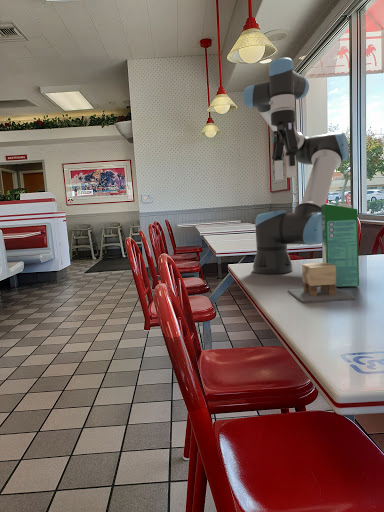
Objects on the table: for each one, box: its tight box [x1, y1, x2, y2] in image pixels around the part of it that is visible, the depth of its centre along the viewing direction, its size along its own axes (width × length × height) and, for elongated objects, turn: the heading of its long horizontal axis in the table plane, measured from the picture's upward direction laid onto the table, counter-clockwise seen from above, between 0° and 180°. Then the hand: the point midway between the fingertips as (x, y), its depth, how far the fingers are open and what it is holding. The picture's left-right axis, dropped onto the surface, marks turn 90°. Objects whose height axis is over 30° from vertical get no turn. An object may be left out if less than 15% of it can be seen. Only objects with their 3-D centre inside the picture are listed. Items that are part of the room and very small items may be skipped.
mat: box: [287, 286, 356, 304], centre depth 108 cm, size 14×14×1 cm
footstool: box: [301, 262, 336, 296], centre depth 108 cm, size 7×7×8 cm
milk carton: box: [321, 202, 360, 288], centre depth 118 cm, size 9×9×25 cm
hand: (285, 178), depth 126 cm, fingers open, 13 cm apart
